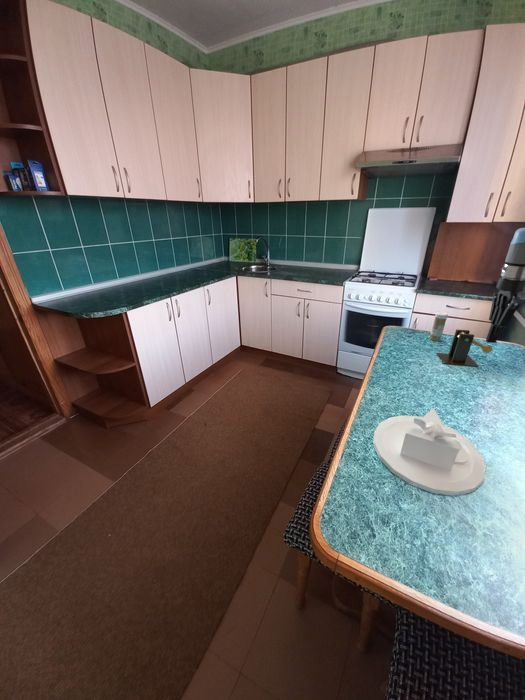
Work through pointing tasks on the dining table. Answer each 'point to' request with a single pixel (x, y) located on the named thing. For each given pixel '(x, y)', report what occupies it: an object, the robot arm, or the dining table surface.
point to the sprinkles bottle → (438, 326)
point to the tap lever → (480, 345)
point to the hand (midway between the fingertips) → (490, 341)
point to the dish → (429, 454)
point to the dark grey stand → (459, 350)
